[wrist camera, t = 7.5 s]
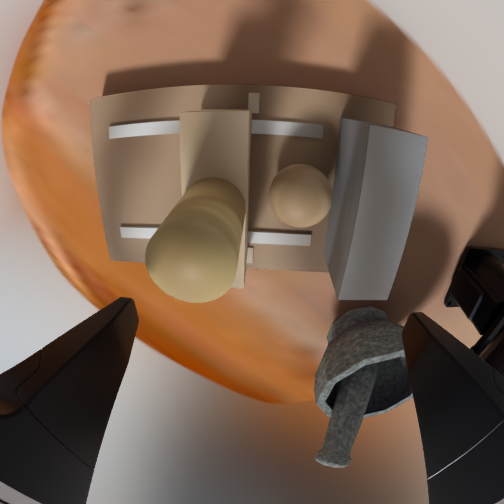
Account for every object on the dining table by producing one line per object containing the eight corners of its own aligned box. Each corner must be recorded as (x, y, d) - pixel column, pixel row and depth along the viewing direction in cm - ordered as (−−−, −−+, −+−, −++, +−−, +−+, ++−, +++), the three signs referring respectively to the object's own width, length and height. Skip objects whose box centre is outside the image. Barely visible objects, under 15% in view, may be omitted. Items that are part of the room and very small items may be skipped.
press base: (386, 103, 15) (440, 109, 10) (359, 262, 21) (386, 319, 16) (101, 97, 16) (41, 105, 10) (118, 250, 21) (80, 300, 16)
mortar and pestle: (374, 270, 22) (433, 395, 11) (420, 322, 24) (466, 422, 14) (276, 344, 26) (278, 465, 15) (335, 380, 29) (350, 477, 18)
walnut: (328, 161, 16) (343, 176, 13) (322, 215, 18) (333, 240, 15) (270, 156, 16) (271, 169, 13) (266, 211, 18) (267, 236, 15)
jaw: (252, 109, 15) (239, 117, 7) (247, 251, 19) (236, 360, 11) (199, 109, 15) (130, 121, 7) (202, 249, 19) (165, 353, 11)
